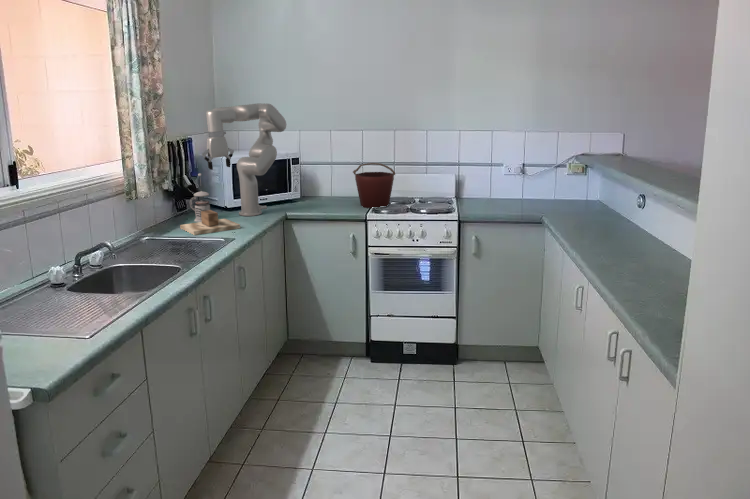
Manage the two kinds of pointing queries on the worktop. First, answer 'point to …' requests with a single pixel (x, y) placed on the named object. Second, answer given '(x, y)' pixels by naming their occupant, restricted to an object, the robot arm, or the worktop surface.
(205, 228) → the plywood board
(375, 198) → the bucket
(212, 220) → the block
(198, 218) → the french press
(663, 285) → the worktop surface
